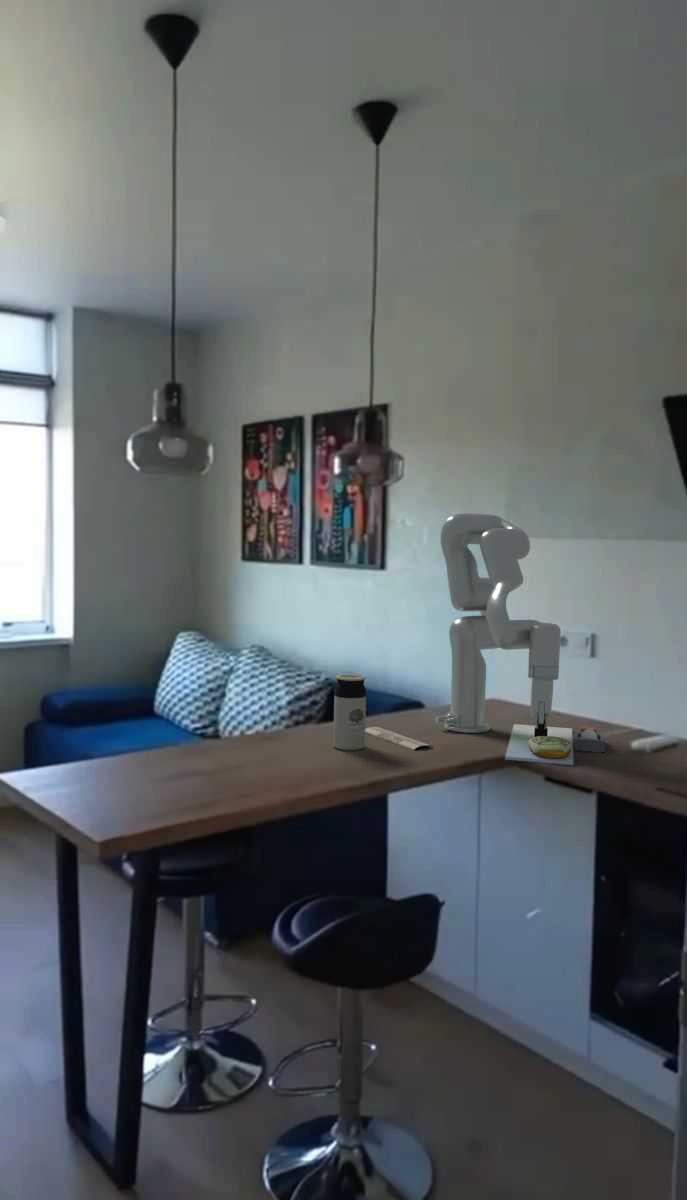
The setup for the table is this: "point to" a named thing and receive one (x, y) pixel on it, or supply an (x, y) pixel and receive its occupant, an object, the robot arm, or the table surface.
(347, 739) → the travel mug
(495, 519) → the robot arm
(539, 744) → the decorated donut
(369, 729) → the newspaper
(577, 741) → the dome collar
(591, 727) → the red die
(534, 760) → the white flat board
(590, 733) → the dome button
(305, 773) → the table surface
